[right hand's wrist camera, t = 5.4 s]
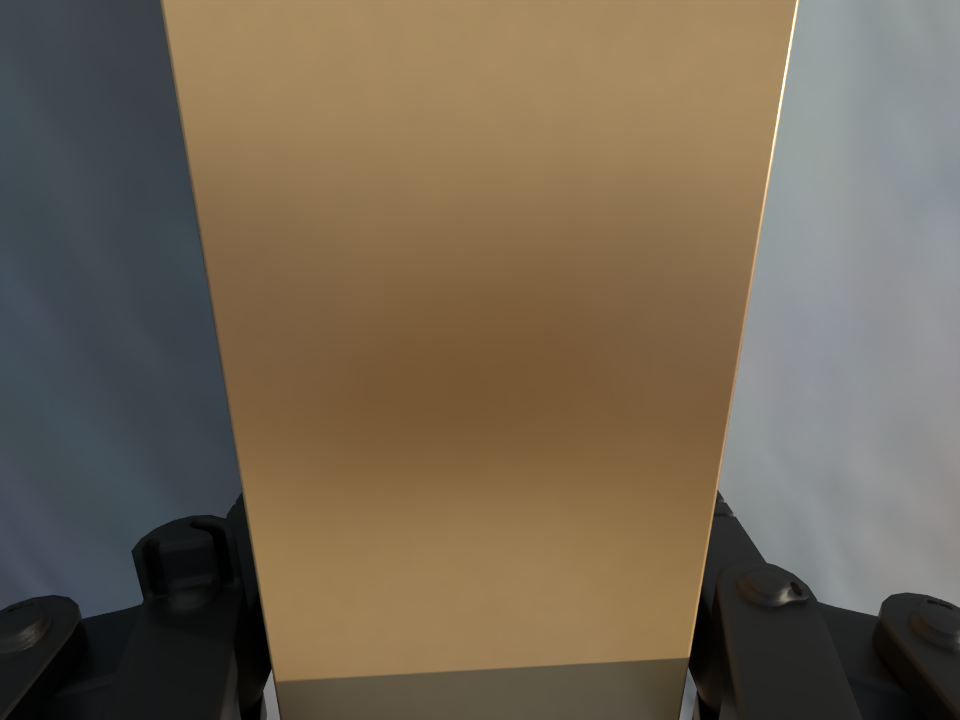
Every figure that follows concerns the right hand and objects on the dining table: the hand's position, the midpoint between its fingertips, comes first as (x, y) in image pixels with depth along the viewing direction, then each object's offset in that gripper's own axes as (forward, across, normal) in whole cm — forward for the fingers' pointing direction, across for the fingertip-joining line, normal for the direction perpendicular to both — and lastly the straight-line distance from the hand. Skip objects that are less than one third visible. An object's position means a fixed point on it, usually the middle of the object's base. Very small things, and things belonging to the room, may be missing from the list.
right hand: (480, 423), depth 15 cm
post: (+1, 0, -31) cm, 31 cm away
